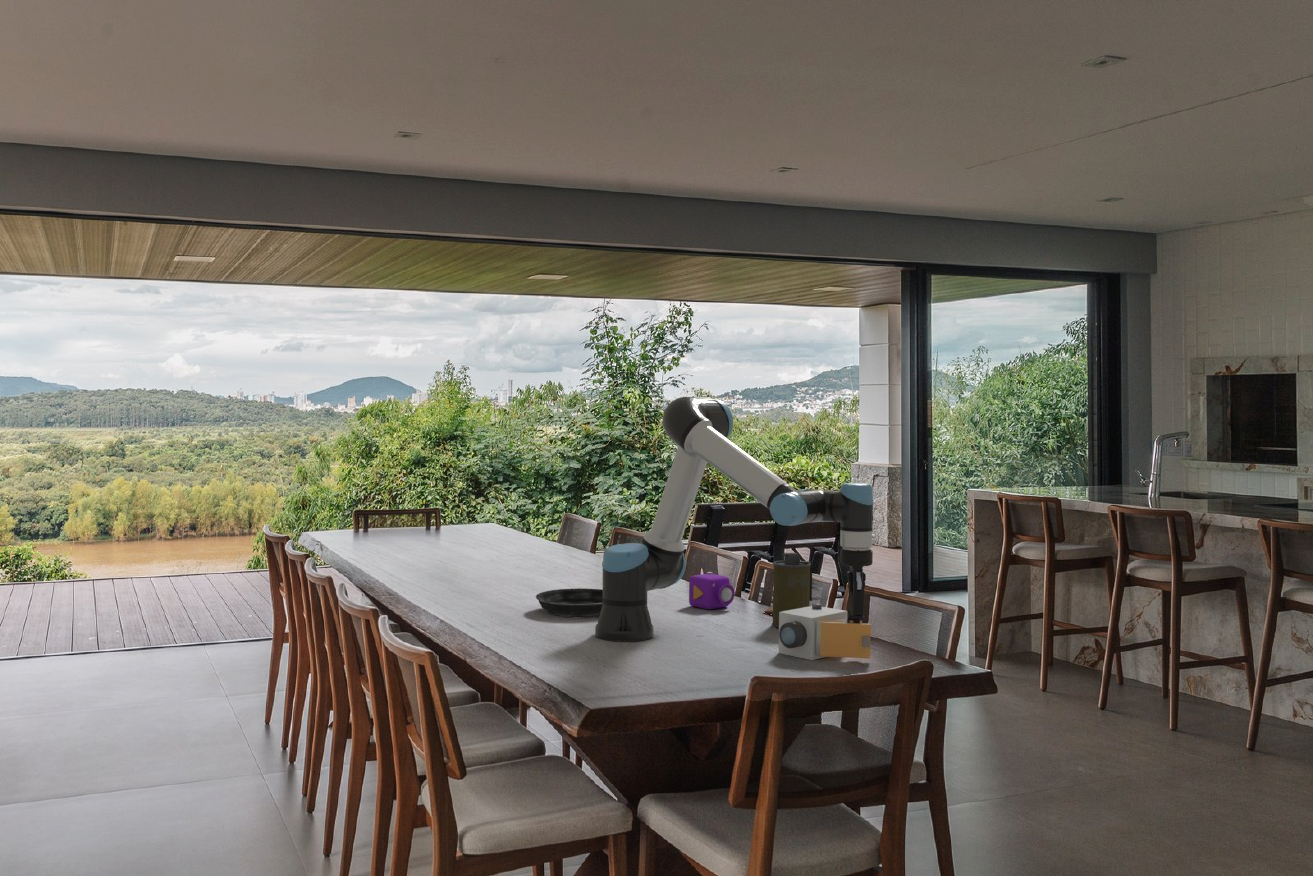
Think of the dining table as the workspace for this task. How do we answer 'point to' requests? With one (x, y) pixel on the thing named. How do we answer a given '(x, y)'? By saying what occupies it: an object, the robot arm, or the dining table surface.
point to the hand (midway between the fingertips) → (855, 647)
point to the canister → (791, 585)
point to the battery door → (843, 639)
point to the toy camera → (710, 591)
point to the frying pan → (572, 602)
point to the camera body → (804, 629)
